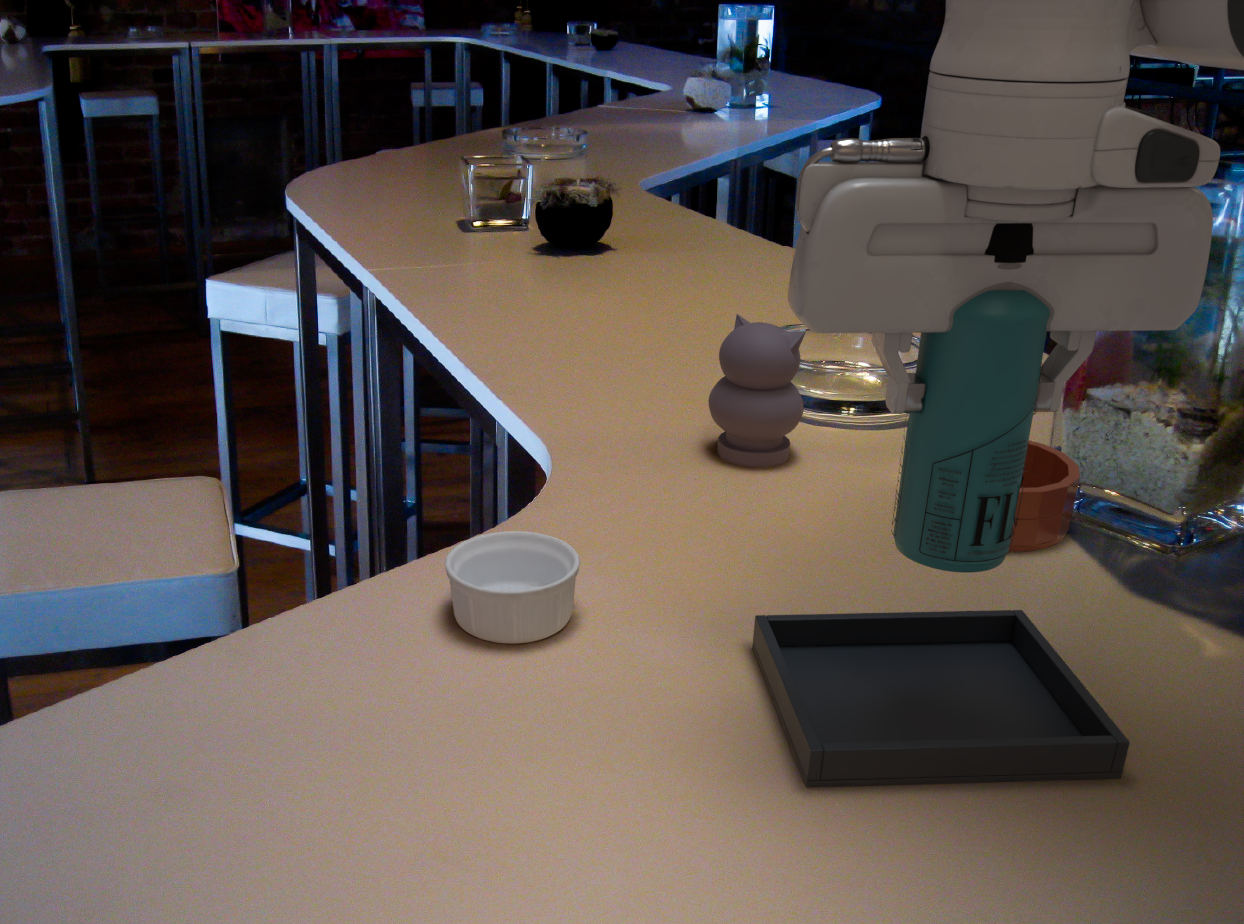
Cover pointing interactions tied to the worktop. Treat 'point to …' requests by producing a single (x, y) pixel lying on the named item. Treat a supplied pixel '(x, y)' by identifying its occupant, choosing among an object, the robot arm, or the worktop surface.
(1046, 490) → the bowl
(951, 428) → the beverage bottle
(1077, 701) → the tray
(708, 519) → the worktop surface
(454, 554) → the ramekin
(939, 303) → the robot arm
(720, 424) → the cat figurine
